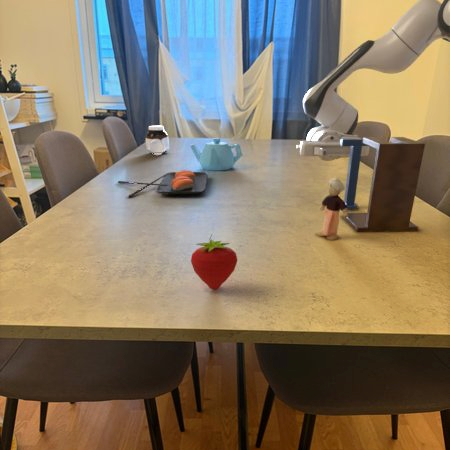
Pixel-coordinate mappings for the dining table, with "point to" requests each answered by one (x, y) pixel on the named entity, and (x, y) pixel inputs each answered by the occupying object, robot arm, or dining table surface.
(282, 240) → the dining table surface
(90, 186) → the dining table surface
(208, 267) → the strawberry
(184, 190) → the sushi plate
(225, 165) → the teapot
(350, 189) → the peg
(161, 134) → the spread jar
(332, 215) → the grandmother figurine
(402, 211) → the stand
